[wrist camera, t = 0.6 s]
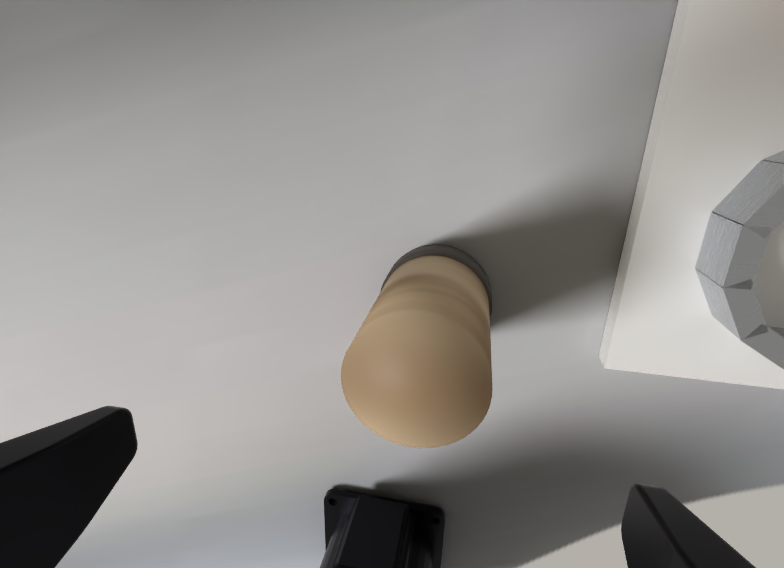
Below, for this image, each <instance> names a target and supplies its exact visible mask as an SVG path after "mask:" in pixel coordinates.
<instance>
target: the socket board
mask: <svg viewBox="0 0 784 568" xmlns="http://www.w3.org/2000/svg"><path fill="white" fill-rule="evenodd" d="M781 151H784V0H678V5H677V9H676V14H675V18H674V22H673V27H672V31H671V36H670V40H669V45H668V49H667V54H666V58H665V63H664V67H663V72H662V76H661V81H660V85H659V89H658V94H657V98H656V103H655V107H654V112H653V116H652V121H651V125H650V130H649V134H648V139H647V143H646V147H645V152H644V156H643V161H642V165H641V170H640V174H639V179H638V183H637V188H636V192H635V197H634V201H633V205H632V210H631V214H630V219H629V223H628V228H627V232H626V237H625V241H624V246H623V250H622V255H621V259H620V263H619V268H618V272H617V277H616V281H615V286H614V290H613V295H612V299H611V304H610V308H609V313H608V317H607V321H606V326H605V330H604V335H603V339H602V344H601V348H600V353H599V358H600V360H601V362H602V364H603V366H604V368H606V369H614V370H623V371H631V372H640V373H648V374H657V375H665V376H674V377H682V378H691V379H699V380H708V381H716V382H725V383H733V384H742V385H751V386H759V387H768V388H776V389H784V369H782V368H781V367H779V366H778V365H776V364H775V363H773V362H772V361H770V360H769V359H767V358H766V357H764V356H763V355H761V354H760V353H758V352H757V351H755V350H754V349H752V348H751V347H749V346H748V345H746V344H745V343H743V342H742V341H741V340H740V339H738V338H737V337H736V336H735V335H734V334H733V333H731V332H730V331H729V330H728V329H727V328H726V327H725V326H723V325H722V324H721V323H720V322H719V321H718V320H717V319H715V318H714V317H713V316H712V314H711V311H710V309H709V306H708V303H707V300H706V297H705V295H704V292H703V289H702V286H701V284H700V281H699V278H698V275H697V272H696V270H695V266H696V262H697V259H698V256H699V252H700V249H701V245H702V242H703V238H704V235H705V231H706V228H707V225H708V221H709V218H710V214H711V212H712V210H713V209H714V208H715V207H716V206H717V205H718V204H719V203H720V202H721V201H722V200H723V199H724V198H725V197H726V196H727V195H728V194H729V193H730V192H731V191H732V190H733V189H734V188H735V187H736V186H737V185H738V184H739V182H740V181H741V180H742V179H743V178H744V177H745V176H746V175H747V174H748V173H749V172H750V171H751V170H752V169H753V168H754V167H755V166H756V165H757V164H758V163H759V162H760V161H761V160H762V159H765V158H767V157H769V156H772V155H774V154H777V153H779V152H781ZM753 286H754V289H755V292H756V295H757V298H758V301H759V304H760V307H761V310H762V313H763V316H764V319H765V322H766V324H767V325H768V326H770V327H778V328H784V221H783V222H782V223H781V224H780V225H779V226H778V227H777V228H776V229H775V230H774V231H773V232H772V233H771V234H770V236H769V239H768V242H767V244H766V247H765V250H764V253H763V256H762V259H761V262H760V265H759V268H758V271H757V273H756V276H755V279H754V282H753Z"/></svg>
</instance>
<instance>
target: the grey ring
mask: <svg viewBox="0 0 784 568" xmlns="http://www.w3.org/2000/svg"><path fill="white" fill-rule="evenodd" d="M783 221H784V151H781V152H779V153H777V154H774V155H772V156H769V157H767V158H765V159H762V160H761V161H760V162H759V163H758V164H757V165H756V166H755V167H754V168H753V169H752V170H751V171H750V172H749V173H748V174H747V175H746V176H745V177H744V178H743V179H742V180H741V181H740V182H739V184H738V185H737V186H736V187H735V188H734V189H733V190H732V191H731V192H730V193H729V194H728V195H727V196H726V197H725V198H724V199H723V200H722V201H721V202H720V203H719V204H718V205H717V206H716V207H715V208H714V209H713V210H712V212H711V214H710V218H709V221H708V225H707V228H706V231H705V235H704V238H703V242H702V245H701V249H700V252H699V256H698V259H697V262H696V266H695V270H696V272H697V275H698V278H699V281H700V284H701V286H702V289H703V292H704V295H705V297H706V300H707V303H708V306H709V309H710V311H711V314H712V316H713V317H714V318H715V319H717V320H718V321H719V322H720V323H721V324H722V325H723V326H725V327H726V328H727V329H728V330H729V331H730V332H731V333H733V334H734V335H735V336H736V337H737V338H738V339H740V340H741V341H742V342H743V343H745V344H746V345H748V346H749V347H751V348H752V349H754V350H755V351H757V352H758V353H760V354H761V355H763V356H764V357H766V358H767V359H769V360H770V361H772V362H773V363H775V364H776V365H778V366H779V367H781V368H782V369H784V328H778V327H770V326H768V325H767V324H766V322H765V319H764V316H763V313H762V310H761V307H760V304H759V301H758V298H757V295H756V292H755V289H754V286H753V282H754V279H755V276H756V273H757V271H758V268H759V265H760V262H761V259H762V256H763V253H764V250H765V247H766V244H767V242H768V239H769V236H770V234H771V233H772V232H773V231H774V230H775V229H776V228H777V227H778V226H779V225H780V224H781V223H782V222H783Z"/></svg>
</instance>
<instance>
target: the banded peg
mask: <svg viewBox="0 0 784 568" xmlns="http://www.w3.org/2000/svg"><path fill="white" fill-rule="evenodd" d="M491 311H492V301H491V288H490V284H489V281H488V278H487V276H486V274H485V272H484V270H483V269H482V267H481V266H480V265H479V264H478V263H477V262H476V261H475V260H474V259H473V258H472V257H471V256H469V255H468V254H466V253H465V252H463V251H461V250H459V249H456V248H454V247H450V246H445V245H427V246H422V247H419V248H416V249H414V250H411V251H410V252H408V253H406V254H405V255H404V256H402V257H401V258H400V259H399V260H398V261H397V262H396V263H395V264H394V266H393V267H392V269H391V271H390V272H389V274H388V276H387V277H386V279H385V281H384V283H383V285H382V288H381V292H380V294H379V296H378V298H377V300H376V301H375V303H374V305H373V307H372V308H371V310H370V312H369V314H368V315H367V317H366V319H365V321H364V322H363V324H362V326H361V328H360V329H359V331H358V333H357V335H356V336H355V338H354V340H353V342H352V343H351V345H350V347H349V349H348V350H347V352H346V355H345V357H344V360H343V364H342V370H341V381H342V388H343V392H344V395H345V398H346V400H347V402H348V404H349V406H350V408H351V410H352V411H353V412H354V414H355V415H356V416H357V418H358V419H359V420H360V421H361V422H362V423H363V424H364V425H365V426H366V427H367V428H369V429H370V430H371V431H373V432H374V433H376V434H377V435H379V436H381V437H382V438H384V439H386V440H389V441H391V442H394V443H397V444H400V445H404V446H408V447H415V448H434V447H440V446H445V445H448V444H451V443H454V442H457V441H458V440H460V439H462V438H464V437H466V436H467V435H468V434H470V433H471V432H472V431H473V430H475V429H476V428H477V427H478V425H479V424H480V423H481V422H482V420H483V419H484V417H485V415H486V414H487V411H488V409H489V406H490V402H491V398H492V369H491V342H490V317H491Z"/></svg>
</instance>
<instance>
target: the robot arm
mask: <svg viewBox="0 0 784 568" xmlns="http://www.w3.org/2000/svg"><path fill="white" fill-rule="evenodd" d="M136 451H137V438H136V433H135V428H134V423H133V418H132V414H131V412H130V411H129V410H128V409H126V408H121V407H114V406H105V407H102V408H99V409H96V410H93V411H90V412H88V413H85V414H82V415H79V416H76V417H73V418H71V419H68V420H65V421H62V422H59V423H56V424H54V425H51V426H48V427H45V428H42V429H39V430H36V431H34V432H31V433H28V434H25V435H22V436H19V437H17V438H14V439H11V440H8V441H5V442H2V443H0V568H55V567H56V565H57V564H58V563H59V562H60V560H61V559H62V558H63V557H64V555H65V554H66V553H67V552H68V550H69V549H70V548H71V547H72V545H73V544H74V543H75V542H76V540H77V539H78V538H79V536H80V535H81V534H82V532H83V531H84V530H85V528H86V527H87V525H88V524H89V523H90V521H91V520H92V518H93V517H94V515H95V514H96V512H97V511H98V509H99V508H100V506H101V505H102V504H103V502H104V501H105V499H106V498H107V496H108V495H109V493H110V492H111V490H112V489H113V487H114V486H115V484H116V483H117V481H118V480H119V478H120V477H121V475H122V474H123V473H124V471H125V470H126V468H127V467H128V465H129V464H130V462H131V461H132V459H133V458H134V456H135V454H136ZM333 498H334V499H333ZM335 499H336V500H335ZM324 514H325V542H326V552H325V555H324V558H323V561H322V563H321V566H320V568H440V565H441V554H442V544H443V534H444V523H445V513H444V511H443V510H442V509H441V508H438V507H434V506H429V505H423V504H417V503H412V502H406V501H400V500H395V499H389V498H383V497H378V496H372V495H366V494H361V493H355V492H349V491H344V490H338V489H330V490H328V491H327V493H326V496H325V498H324ZM435 517H437V518H435ZM621 532H622V540H623V545H624V550H625V555H626V560H627V565H628V568H756V567H754V566H753V565H752V564H751V563H749V561H747V560H746V559H745V558H744V557H743V556H742V555H740V554H739V553H738V552H737V551H736V550H735V549H733V548H732V547H731V546H730V545H729V544H728V543H727V542H725V541H724V540H723V539H722V538H721V537H720V536H719V535H717V534H716V533H715V532H714V531H713V530H712V529H710V528H709V527H708V526H707V525H706V524H705V523H704V522H702V521H701V520H700V519H699V518H698V517H697V516H695V515H694V514H693V513H692V512H691V511H690V510H688V509H687V508H686V507H685V506H684V505H683V504H682V503H680V502H679V501H678V500H677V499H676V498H675V497H674V496H672V495H671V494H670V493H669V492H668V491H666V490H665V489H664V488H662V487H659V486H653V485H647V484H640V483H637V484H634V485H633V486H632V487H631V489H630V492H629V496H628V500H627V504H626V508H625V512H624V516H623V520H622V527H621Z"/></svg>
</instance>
